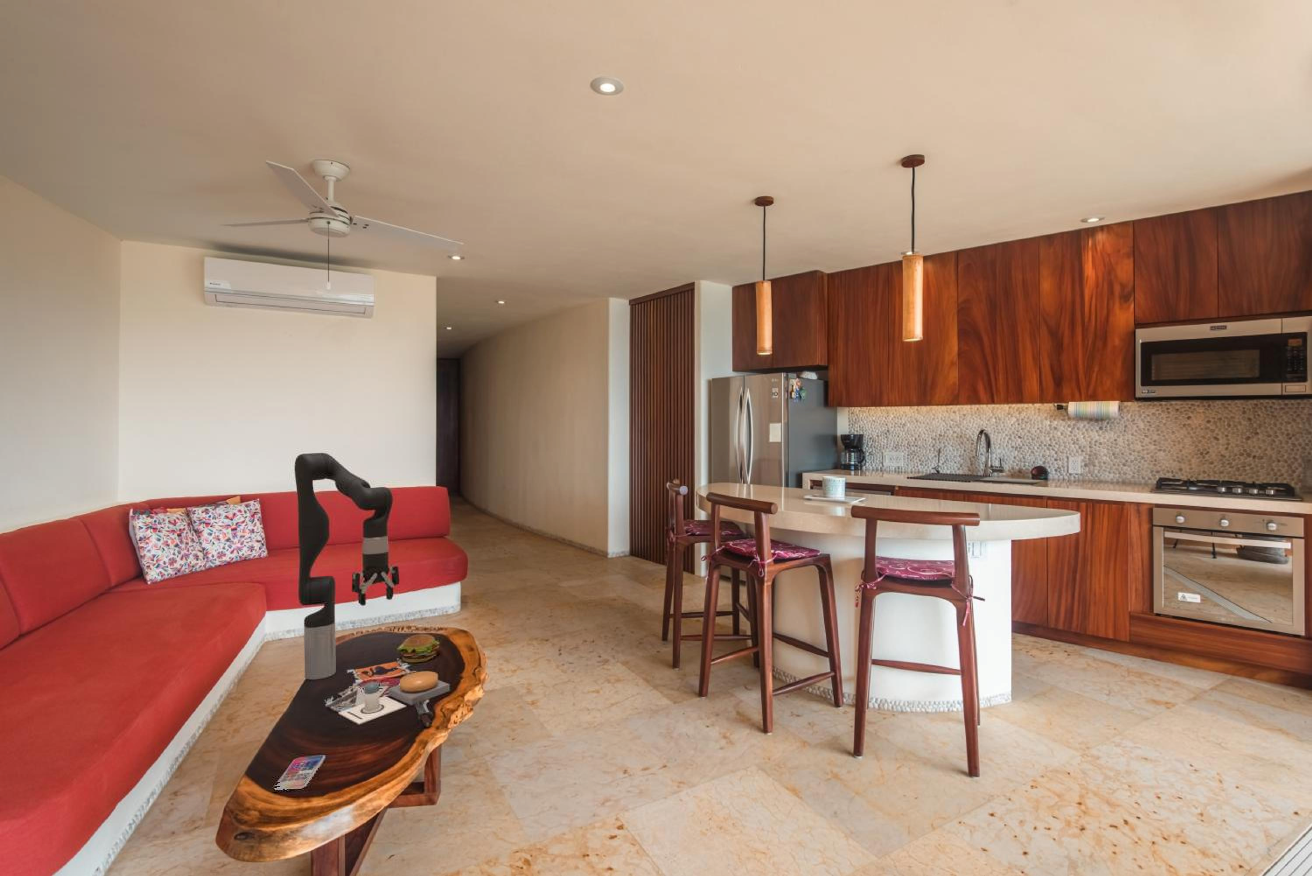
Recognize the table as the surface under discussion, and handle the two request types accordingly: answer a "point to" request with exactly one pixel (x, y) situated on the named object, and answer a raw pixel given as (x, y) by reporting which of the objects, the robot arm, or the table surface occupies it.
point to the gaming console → (361, 694)
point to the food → (419, 648)
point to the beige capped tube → (371, 696)
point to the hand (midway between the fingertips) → (376, 602)
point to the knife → (424, 713)
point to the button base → (418, 693)
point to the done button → (418, 681)
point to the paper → (362, 716)
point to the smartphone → (300, 772)
